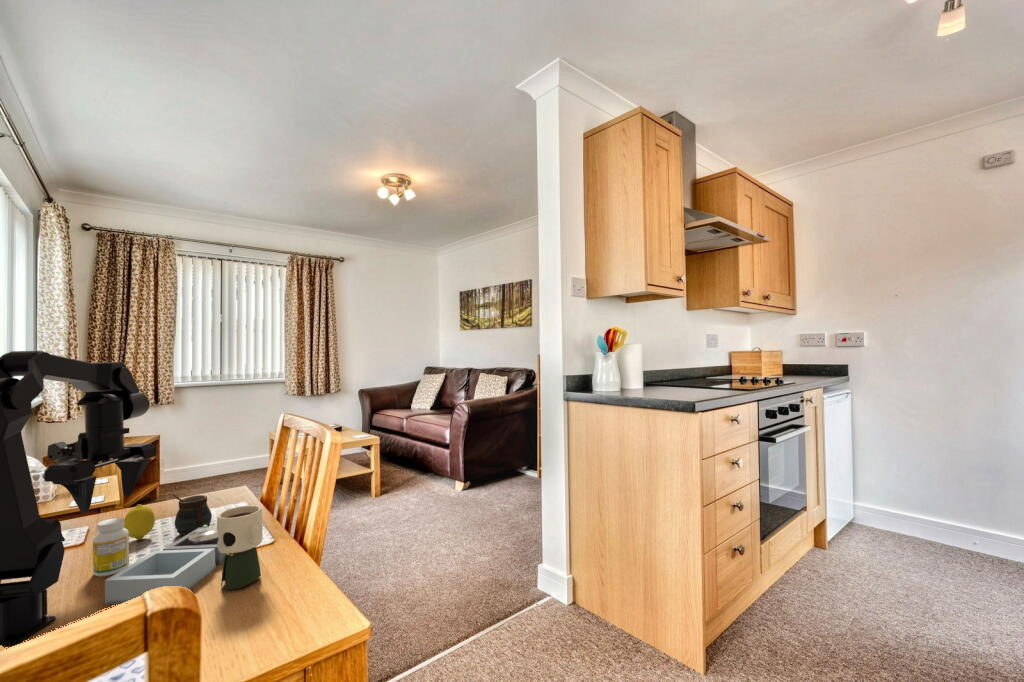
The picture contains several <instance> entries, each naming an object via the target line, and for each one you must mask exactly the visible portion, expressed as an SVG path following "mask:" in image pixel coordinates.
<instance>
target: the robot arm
mask: <svg viewBox="0 0 1024 682" xmlns="http://www.w3.org/2000/svg"><path fill="white" fill-rule="evenodd" d="M15 377H22V378H21V379H19V378H15ZM44 380H48V381H54V382H60V383H61V382H62V383H68V384H71V387H72V388H74V389H76V390H78V391H81V392H84V393H85V395H84V396H83V397H81V399H79V400H78V402H77V403H76V404H77V406H84V431H83V432H80V433H79V434H78V435H77V441H75V442H71V443H68V444H67V443H66V442H65V441H59V442H54V443H52V444H50V445H48V446H47V457H48V460H49V461H50V462H57V461H58V462H57V463H54V464H51V465H50V464H49V465H48V466H47V467H46V469H45V470H44V473H43V474H44V476H43V477H44V478H43V479H44V482H45V483H46V482H47V483H48V482H49V483H50V482H51V483H52V484H53V485H61V487H63V488H65V489H66V490H67V491H68V492H69V494H70V496H71V497H72V499H73V501H74V502H75V505H76V506H77V508H78V510H79V511H80V513H81V514H87V513H88V512H89V511H90V508H91V504H92V501H93V496H94V491H95V485H96V480H97V476H93V474H94V473H95V472H96V469H98V468H102V467H104V466H108V465H111V464H115V466H117V468H118V469H119V470H120V476H121V477H120V478H121V489H122V494H123V497H130V496H131V495H132V493H133V491H134V489H135V487H136V485H137V483H138V481H139V479H140V478H141V476H142V474H143V473H144V471H145V470H146V467H147V465H148V464H149V463H150V462H152V460H153V457H157V447H156V445H155V444H153V442H148V443H147V442H145V443H143V442H141V443H140V442H139V443H136V442H135V443H130V444H125V434H130V427H125V426H124V423H125V421H126V420H131V419H135V418H139V417H142V416H144V415H145V414H146V413H147V412H148V411H149V408H150V404H151V402H150V400H149V398H148V397H147V395H146V394H145V393H143V392H141V391H140V387H139V386H138V385H137V382H136V380H135V378H134V377H133V375H132V373H131V371H130V369H129V368H128V367H127V364H125V363H124V362H122V361H108V362H106V361H105V362H103V361H102V362H89V361H84V360H79V359H75V358H70V357H65V356H62V355H61V356H60V355H55V354H51V353H49V352H47V351H43V350H20V351H19V350H18V351H17V350H15V351H10V352H6V353H4V354H2V355H1V356H0V646H13V645H16V644H18V643H20V642H21V641H23V640H25V639H27V638H28V637H30V636H31V635H33V634H35V633H36V632H38V631H39V630H41V629H43V628H44V627H46V626H48V625H49V624H51V623H53V622H54V621H56V618H57V617H56V615H49V616H48V590H47V589H49V588H50V587H51V586H53V585H54V584H56V583H57V582H58V581H59V578H60V574H61V569H62V565H63V560H64V557H65V546H64V543H63V542H65V541H66V539H65V537H64V535H63V533H62V523H61V522H60V521H59V519H58V518H55V519H53V518H52V519H44V518H43V517H42V516H41V514H40V511H39V508H38V503H37V498H36V494H35V489H34V485H33V480H32V475H31V471H30V466H29V462H28V458H27V453H26V448H25V445H24V440H23V435H22V431H23V429H24V428H25V426H26V424H27V422H28V420H29V419H30V417H31V416H32V414H33V411H32V410H33V408H32V402H33V401H34V400H35V399H36V398H37V397H38V396H39V395H40V394H41V393H43V391H44V389H45V386H44ZM24 578H25V579H26V578H30V580H21V581H12V582H5V583H4V582H3V583H2V581H5V580H6V581H7V580H14V579H15V580H16V579H24Z"/></svg>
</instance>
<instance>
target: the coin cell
mask: <svg viewBox="0 0 1024 682" xmlns="http://www.w3.org/2000/svg"><path fill="white" fill-rule="evenodd" d="M218 538H219V537H218V531H217V525H210V526H209V527H205V528H201V529H198V530H196V531H194V532H192V533H190V534H189V535H188V542H189V543H192V544H201V543H203V544H211V543H213V542H214V541H216V540H218Z"/></svg>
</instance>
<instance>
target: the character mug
mask: <svg viewBox="0 0 1024 682" xmlns="http://www.w3.org/2000/svg"><path fill="white" fill-rule="evenodd" d="M216 526H217V531H218V537H219V538H218V544H217V548H218V550H219V552H220V553H226V554H225V556H224V562H223V563H222V571H221V584H220V585H221V586H220V587H221V588H222V587H223V582H224V589H225V590H236V589H240V588H243V587H245V586H247V585H249V584H251V583H253V582H254V581H256V580H258V579H259V578H261V576H262V574H261V566H260V561H259V555H258V550H257V548H256V547H258V546H260V544H262V543H263V542H262V541H263V537H264V535H263V533H264V532H263V507H262V506H261V505H258V504H257V505H256V504H252V505H251V504H250V505H240V506H239V505H238V506H235V507H231V508H227V509H225V510H223V511H221V512H219V513H218V514H217V515H216Z"/></svg>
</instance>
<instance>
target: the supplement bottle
mask: <svg viewBox="0 0 1024 682" xmlns="http://www.w3.org/2000/svg"><path fill="white" fill-rule="evenodd" d="M124 520H125V518H123V517H115V518H109V519H105V520H102V521H99V522H98V523H97V524H96V525H97V527H96V530H97V532H98V533H96V534H95V535H94V537H93V538H92V570H93V572H92V573H93V575H94V576H95V577H108V576H113V575H115V574H117V573H118V572H120V571H122V570H123V569H125V568H127V567H129V566H130V537H129V532H128V530H127V529H125V528H124Z"/></svg>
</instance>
